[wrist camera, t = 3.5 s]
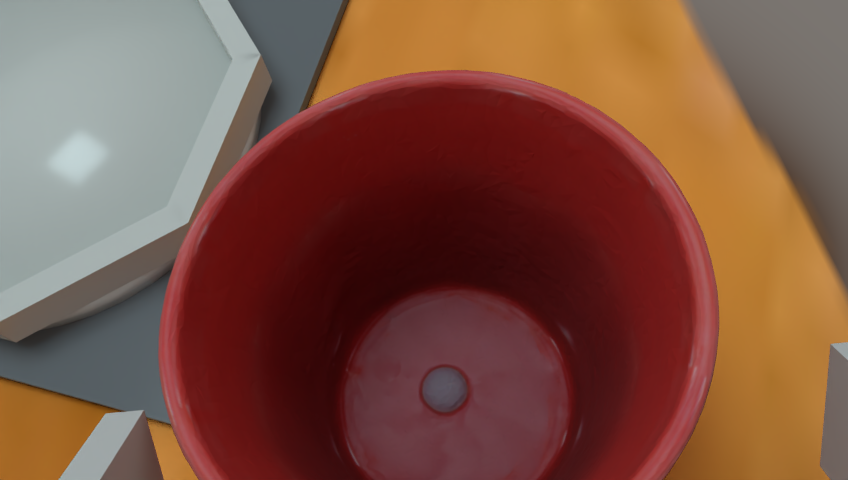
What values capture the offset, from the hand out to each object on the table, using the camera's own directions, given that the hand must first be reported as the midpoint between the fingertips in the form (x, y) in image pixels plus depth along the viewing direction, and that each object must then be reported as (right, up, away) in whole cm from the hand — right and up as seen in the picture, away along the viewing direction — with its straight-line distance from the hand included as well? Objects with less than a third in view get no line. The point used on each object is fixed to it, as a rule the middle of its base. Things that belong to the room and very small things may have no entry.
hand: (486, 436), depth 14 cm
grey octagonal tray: (-15, +8, +14) cm, 22 cm away
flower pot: (0, -1, +9) cm, 9 cm away
